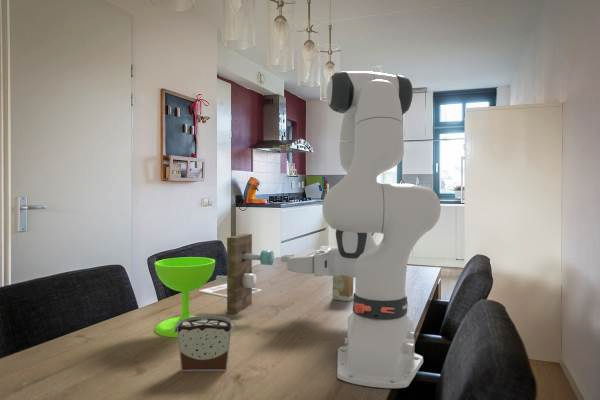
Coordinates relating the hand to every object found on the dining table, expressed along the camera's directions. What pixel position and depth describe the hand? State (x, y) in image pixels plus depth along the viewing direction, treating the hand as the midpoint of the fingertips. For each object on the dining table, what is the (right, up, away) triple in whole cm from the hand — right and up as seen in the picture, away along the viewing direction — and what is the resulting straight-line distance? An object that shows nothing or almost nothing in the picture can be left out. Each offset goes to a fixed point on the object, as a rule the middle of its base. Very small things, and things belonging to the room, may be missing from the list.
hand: (282, 258), depth 134 cm
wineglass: (-26, -17, -15) cm, 34 cm away
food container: (-15, -18, -40) cm, 46 cm away
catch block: (-14, -16, +4) cm, 22 cm away
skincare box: (+20, -17, +16) cm, 31 cm away
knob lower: (-15, -10, +5) cm, 19 cm away
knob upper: (-10, -2, +3) cm, 10 cm away
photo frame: (-20, -17, +27) cm, 38 cm away
